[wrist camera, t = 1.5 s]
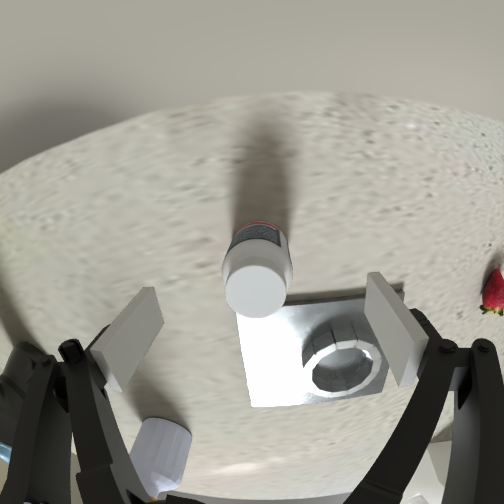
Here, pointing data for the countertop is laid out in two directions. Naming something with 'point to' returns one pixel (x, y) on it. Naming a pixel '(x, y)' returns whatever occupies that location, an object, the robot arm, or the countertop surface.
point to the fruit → (494, 294)
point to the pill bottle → (257, 270)
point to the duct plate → (290, 343)
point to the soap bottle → (160, 455)
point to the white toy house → (429, 476)
